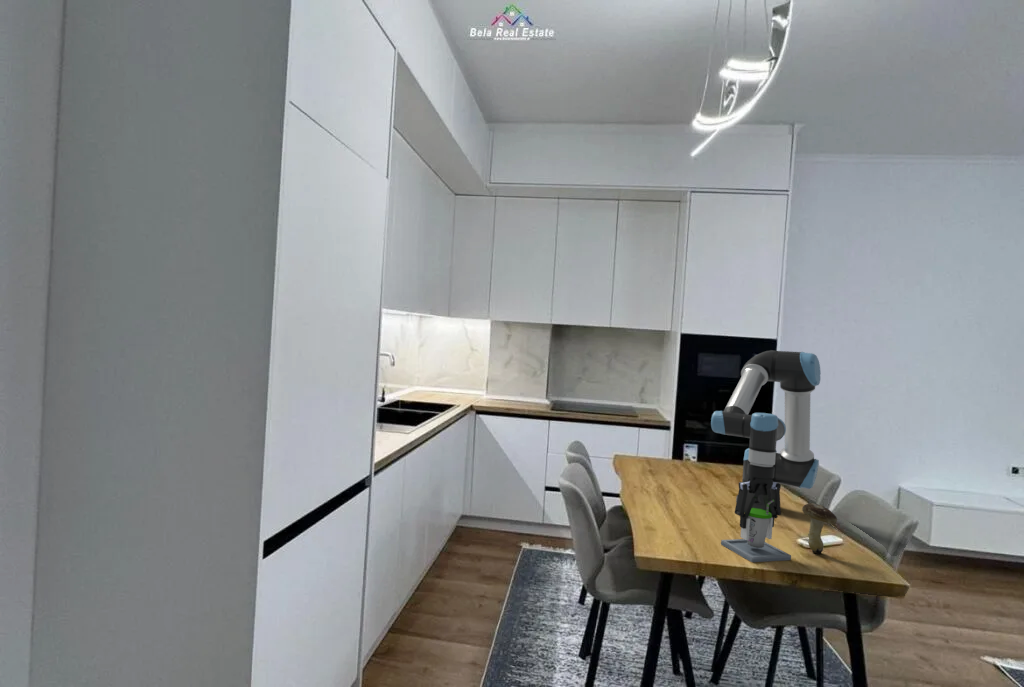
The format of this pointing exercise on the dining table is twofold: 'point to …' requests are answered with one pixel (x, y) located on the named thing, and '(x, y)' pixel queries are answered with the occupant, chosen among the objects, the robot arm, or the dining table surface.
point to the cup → (758, 526)
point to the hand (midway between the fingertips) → (756, 538)
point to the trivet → (755, 551)
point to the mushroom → (817, 524)
